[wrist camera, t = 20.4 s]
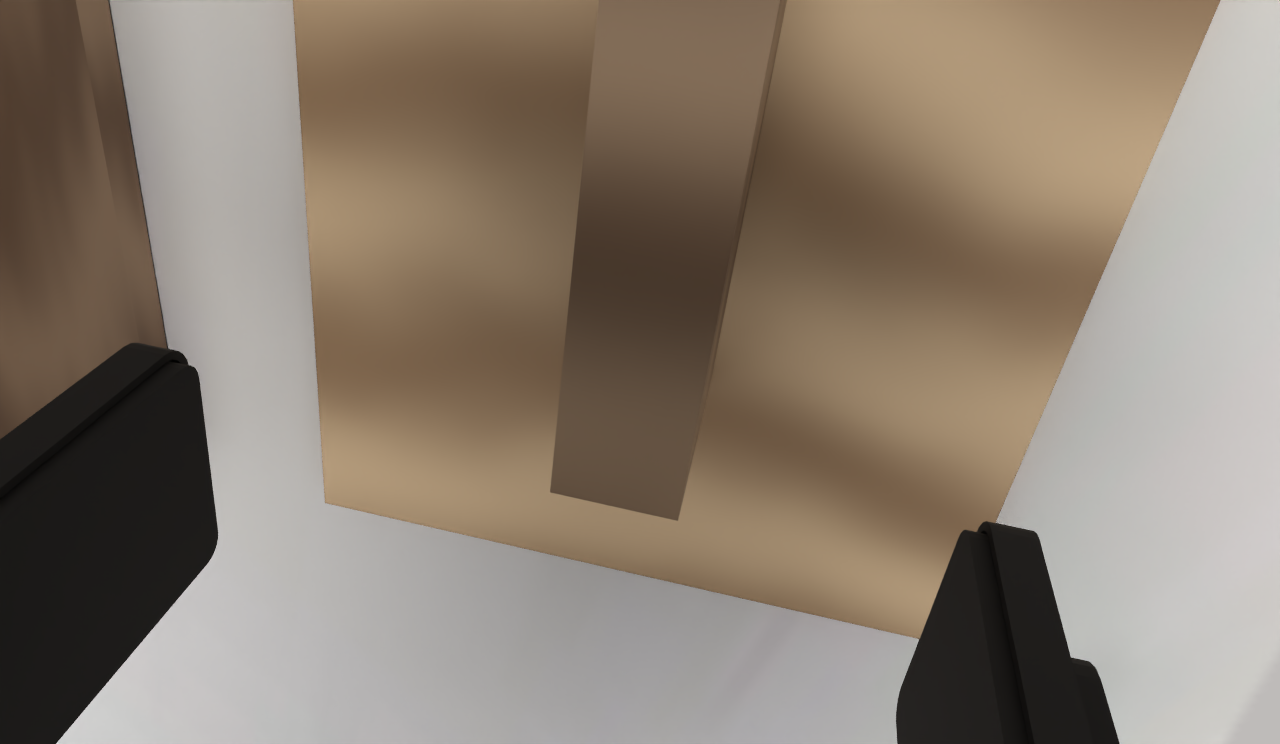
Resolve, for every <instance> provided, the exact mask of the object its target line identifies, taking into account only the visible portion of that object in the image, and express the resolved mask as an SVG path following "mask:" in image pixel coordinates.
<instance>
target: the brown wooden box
mask: <svg viewBox="0 0 1280 744" xmlns="http://www.w3.org/2000/svg"><path fill="white" fill-rule="evenodd" d="M130 343H142V344H147V345H151V346H156V347H161V348H166V349H167V344H166V338H165V333H164V327H163V321H162V315H161V309H160V303H159V297H158V291H157V285H156V279H155V274H154V268H153V262H152V256H151V250H150V244H149V238H148V232H147V226H146V220H145V215H144V209H143V203H142V197H141V191H140V185H139V179H138V173H137V167H136V161H135V156H134V150H133V144H132V138H131V132H130V126H129V120H128V114H127V108H126V102H125V97H124V91H123V85H122V79H121V73H120V67H119V61H118V55H117V49H116V43H115V38H114V32H113V26H112V20H111V14H110V8H109V2H108V0H0V439H1V438H3V437H4V436H5V435H7V434H8V433H9V432H11V431H12V430H13V429H15V428H16V427H17V426H19V425H20V424H21V423H23V422H24V421H25V420H27V419H28V418H29V417H31V416H32V415H33V414H35V413H36V412H37V411H39V410H40V409H41V408H43V407H44V406H45V405H47V404H48V403H49V402H51V401H52V400H53V399H55V398H56V397H57V396H59V395H60V394H61V393H63V392H64V391H65V390H67V389H68V388H69V387H71V386H72V385H73V384H75V383H76V382H77V381H79V380H80V379H81V378H83V377H84V376H85V375H87V374H88V373H89V372H91V371H92V370H93V369H95V368H96V367H97V366H99V365H100V364H101V363H103V362H104V361H105V360H107V359H108V358H109V357H111V356H112V355H113V354H115V353H116V352H117V351H119V350H120V349H121V348H123V347H124V346H126V345H128V344H130Z"/></svg>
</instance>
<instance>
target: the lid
mask: <svg viewBox="0 0 1280 744" xmlns="http://www.w3.org/2000/svg"><path fill="white" fill-rule="evenodd" d="M1219 2H1220V0H293V9H294V24H295V40H296V56H297V71H298V87H299V102H300V118H301V134H302V149H303V165H304V181H305V196H306V212H307V227H308V243H309V259H310V274H311V290H312V305H313V321H314V337H315V352H316V368H317V384H318V399H319V415H320V430H321V446H322V462H323V477H324V493H325V503H328V504H332V505H337V506H341V507H345V508H350V509H354V510H358V511H363V512H367V513H372V514H376V515H380V516H385V517H389V518H393V519H398V520H402V521H406V522H411V523H415V524H420V525H424V526H428V527H433V528H437V529H441V530H446V531H450V532H455V533H459V534H463V535H468V536H472V537H476V538H481V539H485V540H490V541H494V542H498V543H503V544H507V545H511V546H516V547H520V548H524V549H529V550H533V551H538V552H542V553H546V554H551V555H555V556H559V557H564V558H568V559H573V560H577V561H581V562H586V563H590V564H594V565H599V566H603V567H607V568H612V569H616V570H621V571H625V572H629V573H634V574H638V575H642V576H647V577H651V578H656V579H660V580H664V581H669V582H673V583H677V584H682V585H686V586H690V587H695V588H699V589H704V590H708V591H712V592H717V593H721V594H725V595H730V596H734V597H739V598H743V599H747V600H752V601H756V602H760V603H765V604H769V605H774V606H778V607H782V608H787V609H791V610H795V611H800V612H804V613H808V614H813V615H817V616H822V617H826V618H830V619H835V620H839V621H843V622H848V623H852V624H857V625H861V626H865V627H870V628H874V629H878V630H883V631H887V632H891V633H896V634H900V635H905V636H909V637H913V638H918V639H920V637H921V634H922V632H923V629H924V626H925V624H926V621H927V618H928V616H929V613H930V611H931V608H932V605H933V603H934V600H935V598H936V595H937V592H938V590H939V587H940V584H941V582H942V579H943V577H944V574H945V571H946V569H947V566H948V564H949V561H950V558H951V556H952V553H953V551H954V548H955V545H956V543H957V540H958V538H959V536H960V534H961V532H962V531H963V530H970V531H974V532H977V530H978V528H979V526H980V525H981V524H982V523H983V522H985V521H988V522H993V523H995V522H996V520H997V518H998V515H999V513H1000V511H1001V508H1002V506H1003V504H1004V501H1005V499H1006V497H1007V494H1008V492H1009V490H1010V487H1011V485H1012V483H1013V480H1014V478H1015V476H1016V474H1017V471H1018V469H1019V467H1020V464H1021V462H1022V460H1023V457H1024V455H1025V453H1026V450H1027V448H1028V446H1029V443H1030V441H1031V439H1032V436H1033V434H1034V432H1035V429H1036V427H1037V425H1038V422H1039V420H1040V418H1041V416H1042V413H1043V411H1044V409H1045V406H1046V404H1047V402H1048V399H1049V397H1050V395H1051V392H1052V390H1053V388H1054V385H1055V383H1056V381H1057V378H1058V376H1059V374H1060V371H1061V369H1062V367H1063V364H1064V362H1065V360H1066V358H1067V355H1068V353H1069V351H1070V348H1071V346H1072V344H1073V341H1074V339H1075V337H1076V334H1077V332H1078V330H1079V327H1080V325H1081V323H1082V320H1083V318H1084V316H1085V313H1086V311H1087V309H1088V306H1089V304H1090V302H1091V300H1092V297H1093V295H1094V293H1095V290H1096V288H1097V286H1098V283H1099V281H1100V279H1101V276H1102V274H1103V272H1104V269H1105V267H1106V265H1107V262H1108V260H1109V258H1110V255H1111V253H1112V251H1113V248H1114V246H1115V244H1116V241H1117V239H1118V237H1119V235H1120V232H1121V230H1122V228H1123V225H1124V223H1125V221H1126V218H1127V216H1128V214H1129V211H1130V209H1131V207H1132V204H1133V202H1134V200H1135V197H1136V195H1137V193H1138V190H1139V188H1140V186H1141V183H1142V181H1143V179H1144V177H1145V174H1146V172H1147V170H1148V167H1149V165H1150V163H1151V160H1152V158H1153V156H1154V153H1155V151H1156V149H1157V146H1158V144H1159V142H1160V139H1161V137H1162V135H1163V132H1164V130H1165V128H1166V125H1167V123H1168V121H1169V119H1170V116H1171V114H1172V112H1173V109H1174V107H1175V105H1176V102H1177V100H1178V98H1179V95H1180V93H1181V91H1182V88H1183V86H1184V84H1185V81H1186V79H1187V77H1188V74H1189V72H1190V70H1191V67H1192V65H1193V63H1194V60H1195V58H1196V56H1197V54H1198V51H1199V49H1200V47H1201V44H1202V42H1203V40H1204V37H1205V35H1206V33H1207V30H1208V28H1209V26H1210V23H1211V21H1212V19H1213V16H1214V14H1215V12H1216V9H1217V7H1218V5H1219Z"/></svg>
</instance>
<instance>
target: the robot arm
mask: <svg viewBox="0 0 1280 744" xmlns="http://www.w3.org/2000/svg"><path fill="white" fill-rule="evenodd" d="M217 540H218V528H217V520H216V512H215V504H214V495H213V487H212V479H211V471H210V463H209V455H208V447H207V438H206V430H205V422H204V414H203V406H202V398H201V390H200V382H199V376H198V372H197V371H196V369H195V368H194V367H192V366H190V365H188V362H187V359H186V358H185V356H184V355H183V354H182V353H180V352H179V351H175V350H170V349H166V348H161V347H156V346H151V345H147V344H142V343H130V344H128V345H126V346H124V347H123V348H121V349H120V350H119V351H117V352H116V353H115V354H113V355H112V356H111V357H109V358H108V359H107V360H105V361H104V362H103V363H101V364H100V365H99V366H97V367H96V368H95V369H93V370H92V371H91V372H89V373H88V374H87V375H85V376H84V377H83V378H81V379H80V380H79V381H77V382H76V383H75V384H73V385H72V386H71V387H69V388H68V389H67V390H65V391H64V392H63V393H61V394H60V395H59V396H57V397H56V398H55V399H53V400H52V401H51V402H49V403H48V404H47V405H45V406H44V407H43V408H41V409H40V410H39V411H37V412H36V413H35V414H33V415H32V416H31V417H29V418H28V419H27V420H25V421H24V422H23V423H21V424H20V425H19V426H17V427H16V428H15V429H13V430H12V431H11V432H9V433H8V434H7V435H5V436H4V437H3V438H1V439H0V744H56V743H57V742H58V740H59V739H60V738H61V737H62V736H63V735H64V733H65V732H66V731H67V730H68V729H69V727H70V726H71V725H72V724H73V723H74V721H75V720H76V719H77V718H78V717H79V716H80V714H81V713H82V712H83V711H84V710H85V708H86V707H87V706H88V705H89V704H90V702H91V701H92V700H93V699H94V698H95V697H96V695H97V694H98V693H99V692H100V691H101V689H102V688H103V687H104V686H105V685H106V683H107V682H108V681H109V680H110V679H111V678H112V676H113V675H114V674H115V673H116V672H117V670H118V669H119V668H120V667H121V666H122V664H123V663H124V662H125V661H126V660H127V658H128V657H129V656H130V655H131V654H132V653H133V651H134V650H135V649H136V648H137V647H138V645H139V644H140V643H141V642H142V641H143V639H144V638H145V637H146V636H147V635H148V634H149V632H150V631H151V630H152V629H153V628H154V626H155V625H156V624H157V623H158V622H159V620H160V619H161V618H162V617H163V616H164V615H165V613H166V612H167V611H168V610H169V609H170V607H171V606H172V605H173V604H174V603H175V601H176V600H177V599H178V598H179V597H180V596H181V594H182V593H183V592H184V591H185V590H186V588H187V587H188V586H189V585H190V584H191V582H192V581H193V580H194V579H195V578H196V577H197V575H198V574H199V573H200V572H201V571H202V569H203V568H204V567H205V566H206V565H207V563H208V562H209V561H210V559H211V558H212V555H213V553H214V551H215V548H216V545H217ZM896 726H897V743H898V744H1119V740H1118V737H1117V733H1116V730H1115V727H1114V723H1113V720H1112V716H1111V713H1110V710H1109V706H1108V703H1107V699H1106V696H1105V693H1104V689H1103V686H1102V682H1101V679H1100V677H1099V675H1098V672H1097V670H1096V668H1095V667H1094V666H1093V665H1092V664H1091V663H1090V662H1089V661H1084V660H1080V659H1075V658H1071V657H1070V653H1069V649H1068V645H1067V642H1066V638H1065V634H1064V630H1063V627H1062V623H1061V619H1060V615H1059V612H1058V608H1057V604H1056V600H1055V596H1054V593H1053V589H1052V585H1051V581H1050V578H1049V574H1048V570H1047V566H1046V563H1045V559H1044V555H1043V551H1042V547H1041V544H1040V540H1039V537H1038V535H1037V533H1035V532H1034V531H1031V530H1026V529H1021V528H1016V527H1012V526H1007V525H1002V524H997V523H993V522H988V521H985V522H983V523H982V524H981V525H980V526H979V528H978V530H977V532H974V531H970V530H963V531H962V532H961V534H960V536H959V538H958V540H957V543H956V545H955V548H954V551H953V553H952V556H951V558H950V561H949V564H948V566H947V569H946V571H945V574H944V577H943V579H942V582H941V584H940V587H939V590H938V592H937V595H936V598H935V600H934V603H933V605H932V608H931V611H930V613H929V616H928V618H927V621H926V624H925V626H924V629H923V632H922V634H921V637H920V639H919V642H918V645H917V647H916V650H915V652H914V655H913V658H912V660H911V663H910V666H909V668H908V671H907V673H906V676H905V679H904V681H903V684H902V686H901V690H900V693H899V698H898V703H897V712H896Z"/></svg>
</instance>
